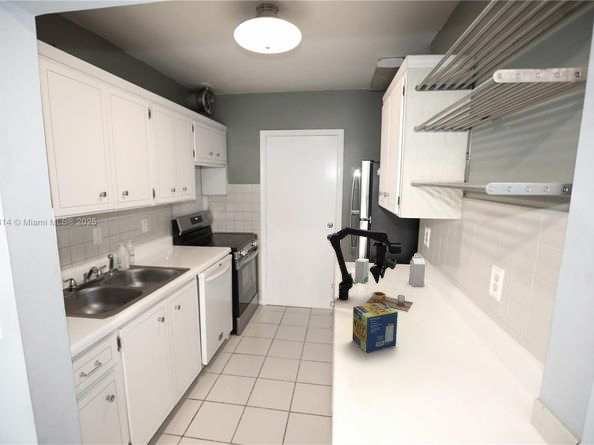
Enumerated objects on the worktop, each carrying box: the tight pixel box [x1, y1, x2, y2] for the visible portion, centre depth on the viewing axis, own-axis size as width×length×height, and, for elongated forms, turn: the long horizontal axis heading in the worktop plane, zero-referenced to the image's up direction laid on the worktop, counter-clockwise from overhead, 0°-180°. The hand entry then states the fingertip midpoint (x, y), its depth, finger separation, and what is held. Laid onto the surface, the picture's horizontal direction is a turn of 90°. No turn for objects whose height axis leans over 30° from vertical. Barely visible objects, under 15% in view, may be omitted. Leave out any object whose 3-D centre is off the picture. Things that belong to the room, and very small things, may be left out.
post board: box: [366, 294, 414, 313], centre depth 164 cm, size 14×22×6 cm, turn 57°
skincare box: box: [354, 258, 370, 285], centre depth 199 cm, size 8×7×16 cm
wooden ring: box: [371, 291, 387, 303], centre depth 167 cm, size 7×7×4 cm
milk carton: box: [408, 256, 426, 287], centre depth 194 cm, size 7×7×19 cm
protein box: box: [351, 302, 399, 354], centre depth 126 cm, size 10×15×16 cm
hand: (379, 280), depth 166 cm, fingers open, 9 cm apart
